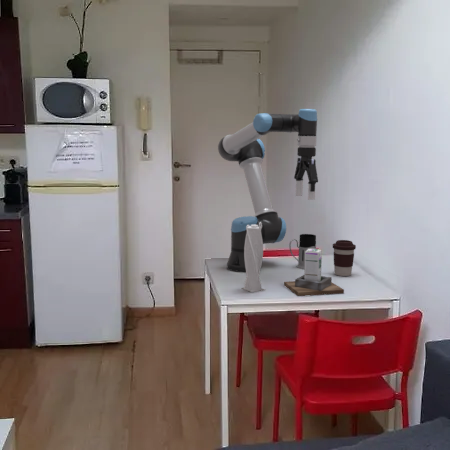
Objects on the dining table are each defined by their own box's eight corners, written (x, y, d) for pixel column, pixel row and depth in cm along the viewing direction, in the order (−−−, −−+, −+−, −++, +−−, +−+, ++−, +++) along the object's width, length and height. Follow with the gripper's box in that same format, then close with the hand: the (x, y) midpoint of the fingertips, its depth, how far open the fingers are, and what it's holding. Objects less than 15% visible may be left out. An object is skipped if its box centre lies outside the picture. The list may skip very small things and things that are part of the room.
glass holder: (319, 268, 264) (321, 236, 262) (294, 271, 258) (295, 238, 256) (308, 264, 272) (310, 233, 270) (283, 267, 266) (284, 235, 263)
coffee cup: (354, 278, 247) (356, 243, 245) (331, 276, 249) (332, 242, 247) (354, 272, 257) (355, 239, 254) (331, 271, 259) (333, 238, 256)
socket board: (283, 285, 234) (284, 274, 233) (326, 282, 238) (327, 272, 238) (298, 296, 218) (298, 284, 218) (343, 293, 223) (344, 282, 222)
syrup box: (318, 288, 225) (319, 251, 222) (303, 286, 227) (304, 250, 224) (321, 284, 230) (322, 249, 228) (306, 283, 232) (307, 248, 230)
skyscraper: (268, 291, 225) (269, 221, 221) (251, 294, 221) (252, 223, 216) (255, 286, 232) (257, 218, 228) (239, 289, 228) (240, 220, 223)
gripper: (287, 145, 248) (286, 194, 252) (309, 147, 224) (308, 201, 228) (303, 146, 250) (302, 194, 253) (327, 147, 226) (325, 201, 230)
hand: (305, 197), depth 241 cm, fingers open, 13 cm apart
